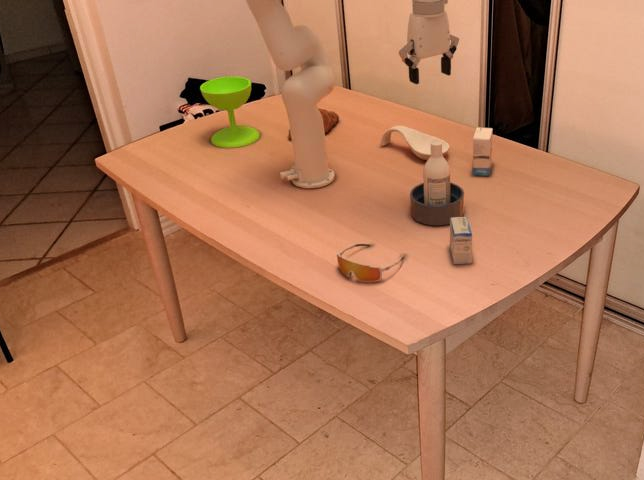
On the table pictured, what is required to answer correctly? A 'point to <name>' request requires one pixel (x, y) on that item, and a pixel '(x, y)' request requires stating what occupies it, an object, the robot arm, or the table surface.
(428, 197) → the bath foam
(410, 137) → the spoon rest
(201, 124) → the table surface
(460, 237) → the medicine box
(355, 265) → the sunglasses
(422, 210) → the bowl
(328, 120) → the pastry
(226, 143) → the wineglass
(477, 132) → the ink box
